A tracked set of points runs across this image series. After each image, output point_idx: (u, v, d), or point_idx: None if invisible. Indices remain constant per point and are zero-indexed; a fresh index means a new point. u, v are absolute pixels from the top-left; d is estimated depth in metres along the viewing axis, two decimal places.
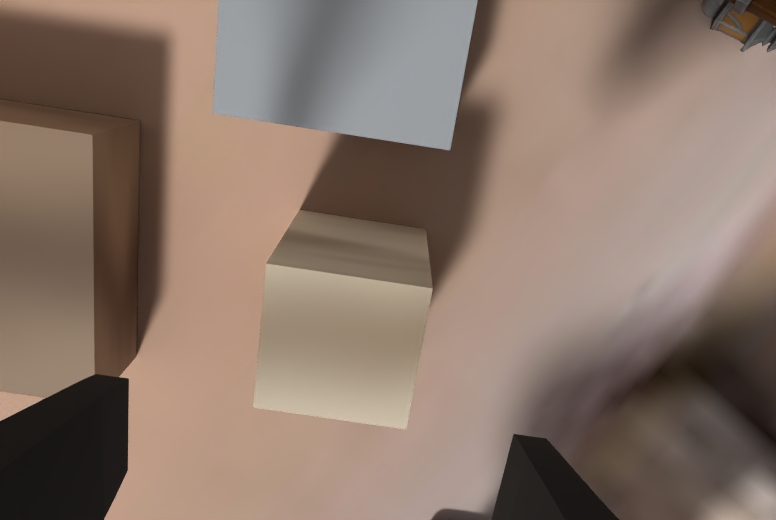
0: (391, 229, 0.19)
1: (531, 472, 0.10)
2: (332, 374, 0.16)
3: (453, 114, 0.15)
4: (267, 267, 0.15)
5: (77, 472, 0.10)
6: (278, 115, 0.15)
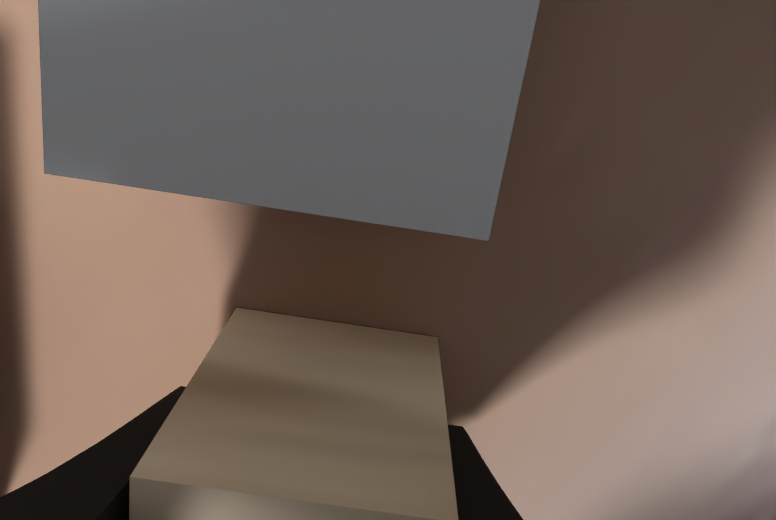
0: (382, 344, 0.12)
1: None
2: None
3: (496, 176, 0.08)
4: (133, 482, 0.07)
5: None
6: (167, 177, 0.08)
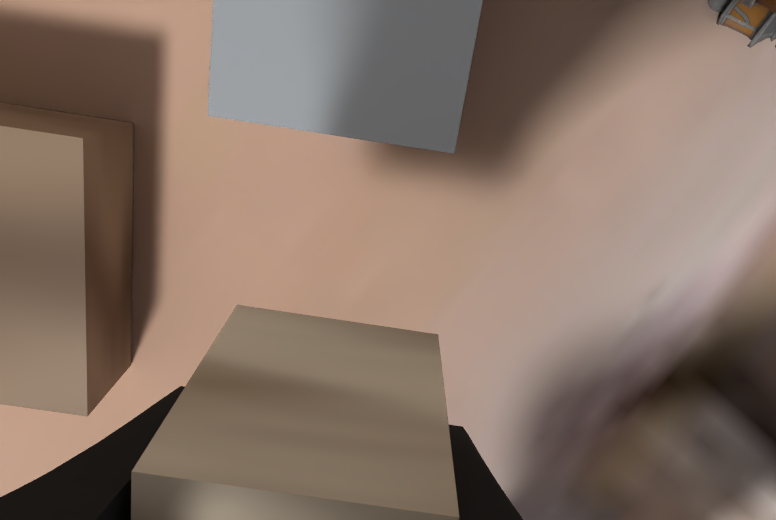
0: (382, 341, 0.12)
1: None
2: None
3: (457, 116, 0.15)
4: (135, 477, 0.07)
5: None
6: (276, 117, 0.15)
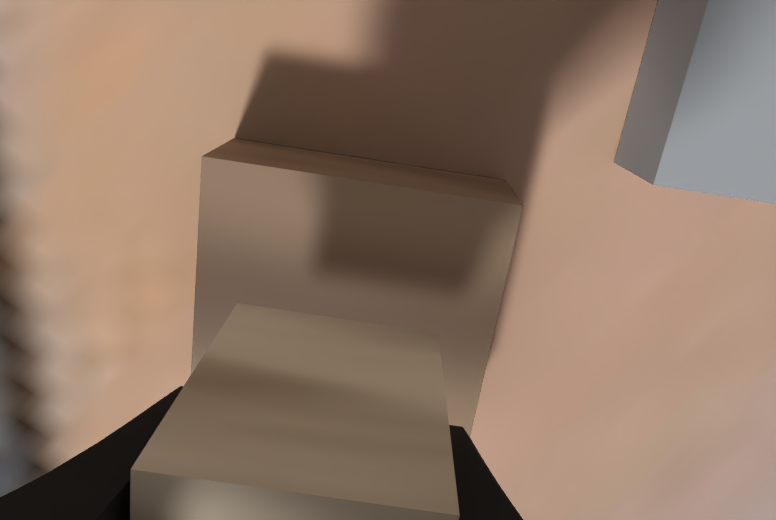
0: (383, 340, 0.12)
1: None
2: None
3: None
4: (134, 475, 0.07)
5: None
6: (721, 187, 0.15)
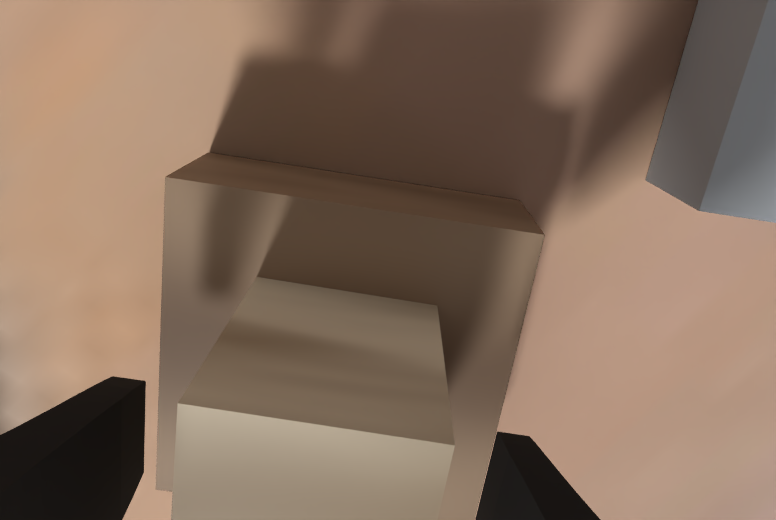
0: (388, 310, 0.13)
1: (512, 469, 0.10)
2: None
3: None
4: (180, 408, 0.09)
5: (96, 475, 0.10)
6: None
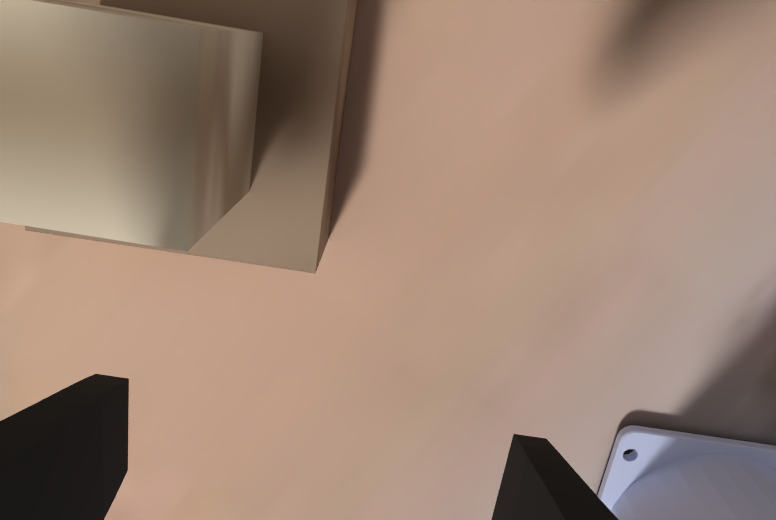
0: None
1: (531, 472, 0.10)
2: (76, 166, 0.11)
3: None
4: None
5: (77, 472, 0.10)
6: None
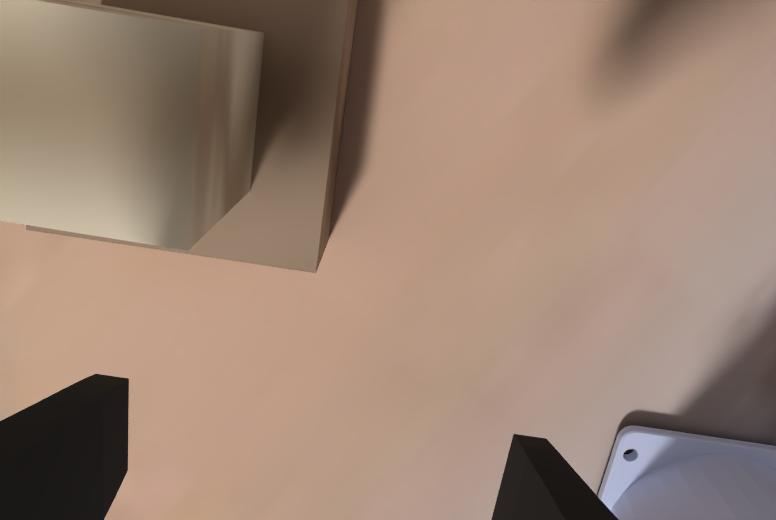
0: None
1: (531, 472, 0.10)
2: (77, 165, 0.11)
3: None
4: None
5: (77, 472, 0.10)
6: None
